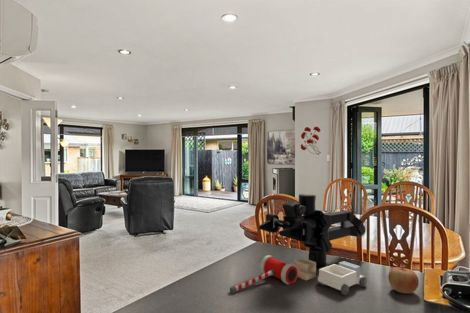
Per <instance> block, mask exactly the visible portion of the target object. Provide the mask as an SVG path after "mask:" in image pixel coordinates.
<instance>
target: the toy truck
mask: <svg viewBox="0 0 470 313" xmlns="http://www.w3.org/2000/svg"><path fill="white" fill-rule="evenodd" d="M367 283H368V279H367V277H365V275H362V274H361V266H360V265H357V264H355V263H354V264H353V263H350V262H348V261H345V260H343V261H340V262H338V264H335V263H333V264H331V265H330V266H327V267H324V268H321V269H318V275H317V274H316V277H315V284H316V285H319V286H321V285H322V284H324V285H326V286H329V287H331V288H333V289H335V290H338V291H340V292H341V295H342V296H348V295H349V292H350V287H351V286H355V285H357V284H359V286H360V287H362V288H365V287H366V286H367Z"/></svg>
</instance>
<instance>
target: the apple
mask: <svg viewBox="0 0 470 313" xmlns="http://www.w3.org/2000/svg"><path fill="white" fill-rule="evenodd" d="M400 266H401V267H399V266H395V267H392V268H391V269H389V270H390V271H389V272H388V277H387V278H388V283H389V284H390V287H391V288H392V289H393V290H395V292H398V293H400V294H412V293H414V292H416V290H417V289H418V288H419V284H420V283H419V281H420V280H419V277H418V276H417V274H416V272H415V271H413V270H412V269H409V268H404V267H403V264H401V265H400Z"/></svg>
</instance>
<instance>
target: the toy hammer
mask: <svg viewBox="0 0 470 313" xmlns="http://www.w3.org/2000/svg"><path fill="white" fill-rule="evenodd" d="M259 268H260V271H261V272H262V274H259V275H258V276H256V277H253V278H251V279H249V280H247V281H244V282H242V283H240V284H239V285H236V286H231V287H229V292H230V293H231V294H232V295H235V294H237V292H238V291H240V290H242V289H245V288H246V287H247V288H248V287H250V286H251V285H253V284H256V283H257V282H260V281H262V280H264V279H266V278H268V277H270V276H272V277H275V278H277V279H279V280H280V281H282V282H283V283H284V284H285V285H289V286H290V285H292V284H295V282H296V281H297V279H298V277H297V276H298V269H297V267H296V265H295V263H291V262H289V263H287V262H284V261H281V260H279V259H276V257H274V256H273V255H270V254H267V255H265V256H264V257H263V258H262V259H261V261H260V267H259Z"/></svg>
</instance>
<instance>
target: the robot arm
mask: <svg viewBox="0 0 470 313" xmlns="http://www.w3.org/2000/svg"><path fill="white" fill-rule="evenodd" d="M316 198H317V196H316V194H305V193H303V194H302V193H300V194H298V201H294V200H288V201H287V202H285V203H283V204H282V209H283V212H284V215H283V217H282V218H283V219H280V216H279V215H278V214H275V213H270V212H269V213H266V214H265V222H263V223H262V224H259V226H258V228H259V230H261V231H264V232H268V233H270V234H273V233H275V234H276V233H277V232H278V235H279V236H282V237H285V238H287V239H291V240H294V241H298V242H300V243H301V242H302V243H303V244H304V247H305V248H308V260H311V261H314V262H316V270H317V269H318V270H319V269H321V268H324V267H327V266H330V264H329V263H327V253H329V252H330V251H332V248H333V247H332V246H333V244H332V242H331V241H334V240H338V239H342V238H345V237H349V236H350V237H356V238H357V237H359V238H361V237H363V236H364V235H365V233H366V226H365V225H364V222H363V221H362V220H360V218H358V217H357V216H356V215H355V213H353V212H352V211H351V210H343V209H342V210H339V211H333V212H329V213H327V212H326V213H324V212H323V211H322V210H318V209H316ZM335 224H340V225H337V226H332V225H335ZM331 226H332V227H331ZM280 228H282V229H281V230H280Z"/></svg>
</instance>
